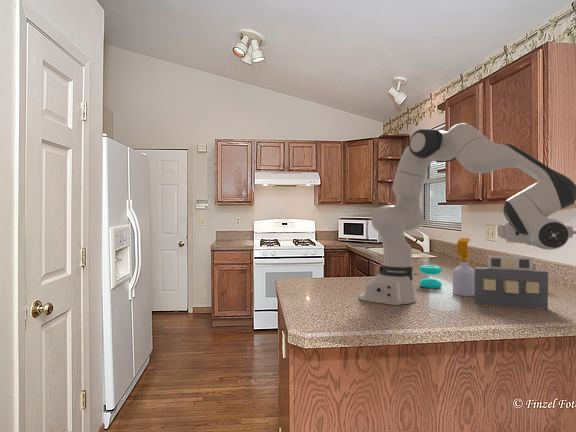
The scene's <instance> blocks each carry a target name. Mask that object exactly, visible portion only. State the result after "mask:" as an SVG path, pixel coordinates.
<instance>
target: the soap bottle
mask: <svg viewBox="0 0 576 432" xmlns="http://www.w3.org/2000/svg"><path fill="white" fill-rule="evenodd" d="M470 240H471V239H470V238H468V237H467V238H464V237H463V238H462V237H460V238H459V239H458V241H457V244H456V247H457V248H456V249H457V250H456V255H458V256H460V258H461V259H460V260H459V265H458V266H457V267H455V268H453V271H452V294H454V295H455V296H459V297H473V296H474V295H475V269H474V268H472V267H471V266H470V265H469V260H467V258H469V257H468V256H471V253H468V243H469V242H470Z"/></svg>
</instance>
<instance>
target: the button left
mask: <svg viewBox="0 0 576 432" xmlns="http://www.w3.org/2000/svg"><path fill="white" fill-rule="evenodd" d="M483 289H484V290H496V280H495V279H490V278H483Z"/></svg>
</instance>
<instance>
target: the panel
mask: <svg viewBox="0 0 576 432" xmlns="http://www.w3.org/2000/svg"><path fill="white" fill-rule="evenodd" d="M533 262H534V257H532V256H531V257H530V256H509V255H508V256H506V255H487V267H479V266H477V267H474V270H475V295H474V299H473V300H474V304H475V305H476V304H477V305H488V306H489V305H490V306H498V307H499V306H500V307H510V308H511V307H512V308H523V309H537V310H549V309H548V308H549V302H548V301H549V271H547V270H541V269H540V270H538V269H536V270H533ZM483 278H490V279H495V280H496V290H484V289H483ZM503 279H507V280H516V281H517V282H518V283H519V294H518V293H506V292H505V291H504V290H503ZM525 281H537V282H539V294H538V293H526V292H525Z"/></svg>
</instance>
